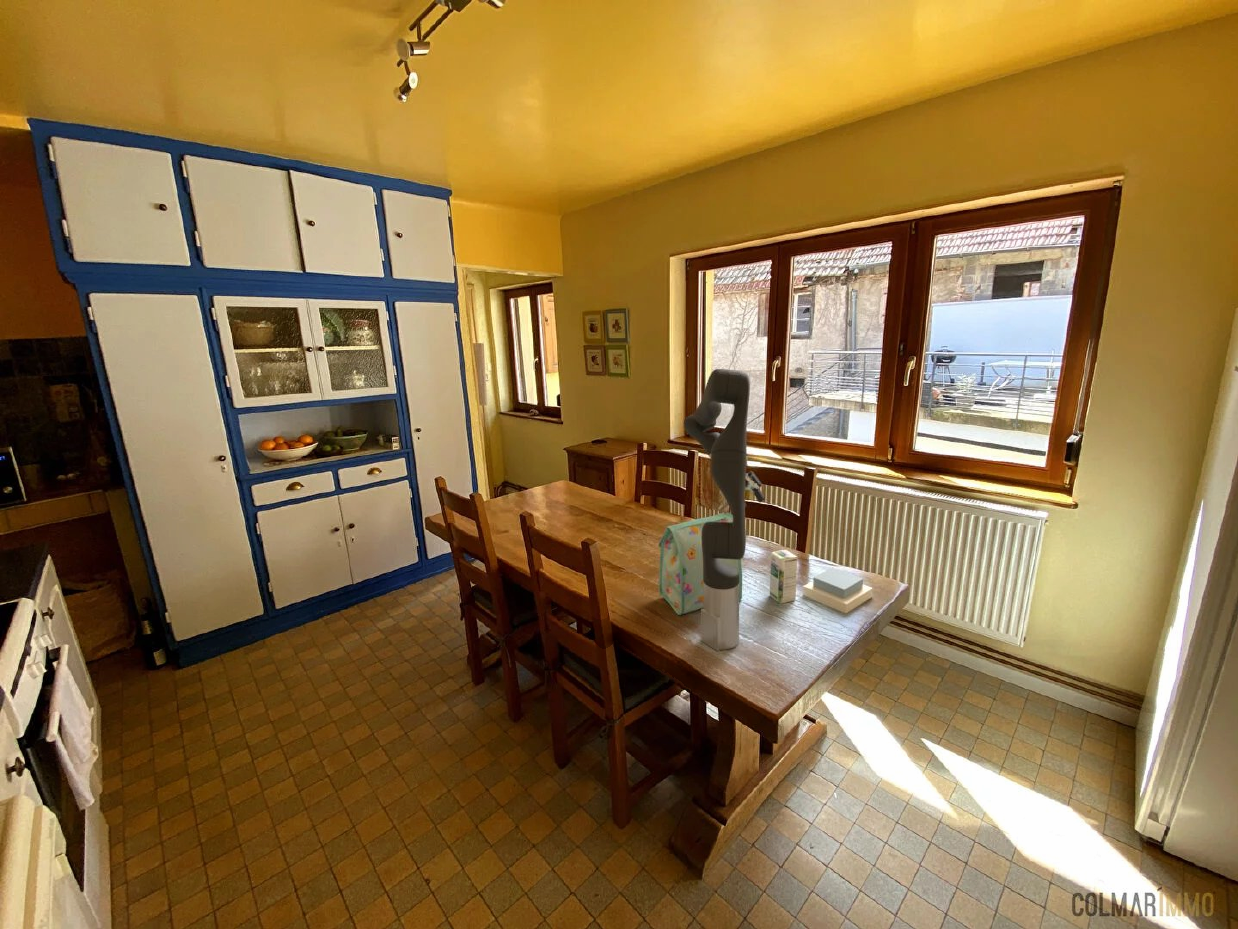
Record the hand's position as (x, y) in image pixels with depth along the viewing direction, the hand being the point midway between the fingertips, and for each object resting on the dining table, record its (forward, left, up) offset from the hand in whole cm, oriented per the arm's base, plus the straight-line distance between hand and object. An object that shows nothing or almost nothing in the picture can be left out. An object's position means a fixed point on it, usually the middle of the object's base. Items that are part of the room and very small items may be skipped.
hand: (753, 504), depth 156 cm
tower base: (+13, -22, -27) cm, 37 cm away
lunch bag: (-19, +4, -28) cm, 34 cm away
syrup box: (0, -12, -28) cm, 30 cm away
